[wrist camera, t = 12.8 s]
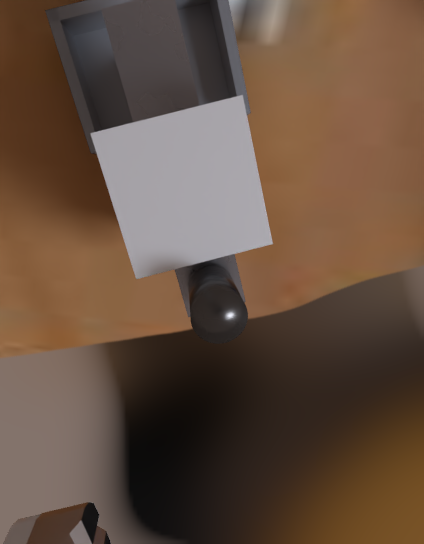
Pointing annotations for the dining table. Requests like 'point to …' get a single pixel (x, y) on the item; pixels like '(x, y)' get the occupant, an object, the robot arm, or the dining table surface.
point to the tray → (104, 72)
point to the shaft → (159, 101)
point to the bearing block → (185, 186)
